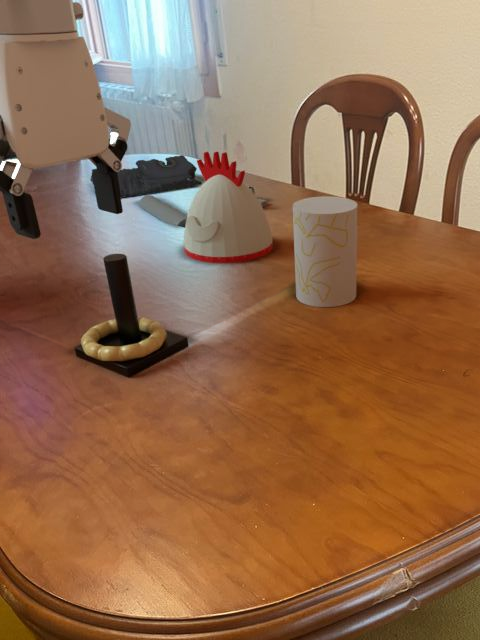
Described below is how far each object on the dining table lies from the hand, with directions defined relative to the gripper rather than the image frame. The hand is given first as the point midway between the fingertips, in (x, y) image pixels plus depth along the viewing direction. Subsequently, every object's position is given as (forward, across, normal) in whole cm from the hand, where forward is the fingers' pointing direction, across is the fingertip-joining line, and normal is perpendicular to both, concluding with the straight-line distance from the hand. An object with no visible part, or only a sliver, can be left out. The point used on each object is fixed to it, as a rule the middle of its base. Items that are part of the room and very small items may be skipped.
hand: (71, 223), depth 65 cm
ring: (+14, -3, +1) cm, 14 cm away
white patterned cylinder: (+16, -30, +10) cm, 35 cm away
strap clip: (+16, -57, -27) cm, 65 cm away
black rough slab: (+17, -59, -58) cm, 85 cm away
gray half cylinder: (+16, -45, -37) cm, 61 cm away
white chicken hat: (+16, -36, -13) cm, 42 cm away
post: (+16, -4, +1) cm, 16 cm away
